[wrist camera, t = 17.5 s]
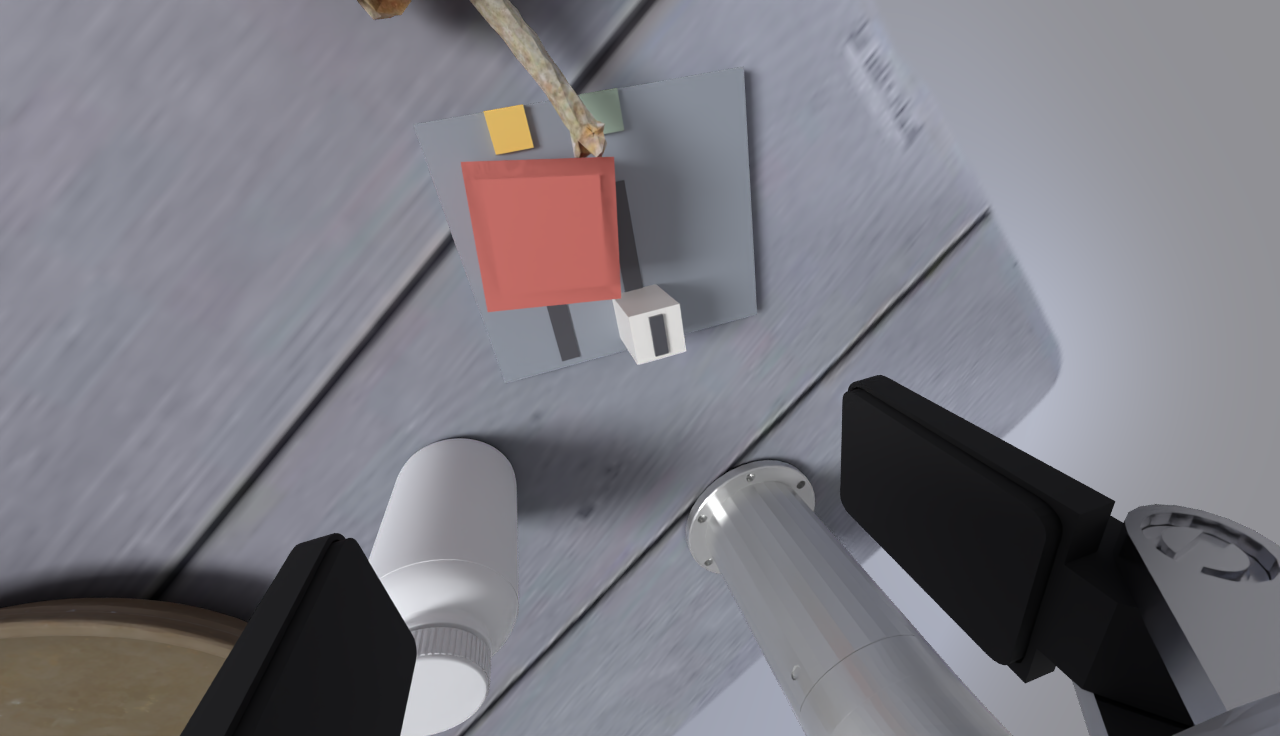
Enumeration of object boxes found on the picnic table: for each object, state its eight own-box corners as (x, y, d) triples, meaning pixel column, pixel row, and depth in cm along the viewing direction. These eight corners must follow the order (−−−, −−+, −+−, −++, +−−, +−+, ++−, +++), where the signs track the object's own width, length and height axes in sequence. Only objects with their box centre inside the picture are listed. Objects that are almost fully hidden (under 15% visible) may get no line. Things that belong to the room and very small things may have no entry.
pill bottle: (378, 451, 30) (281, 680, 17) (501, 422, 31) (499, 611, 18) (417, 537, 33) (363, 782, 20) (526, 507, 35) (540, 717, 22)
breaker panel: (750, 310, 33) (794, 337, 28) (505, 377, 30) (505, 420, 25) (735, 69, 26) (790, 48, 21) (416, 125, 23) (392, 117, 18)
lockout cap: (600, 272, 28) (621, 298, 22) (492, 282, 26) (487, 312, 21) (592, 158, 25) (614, 156, 20) (471, 162, 24) (460, 161, 18)
